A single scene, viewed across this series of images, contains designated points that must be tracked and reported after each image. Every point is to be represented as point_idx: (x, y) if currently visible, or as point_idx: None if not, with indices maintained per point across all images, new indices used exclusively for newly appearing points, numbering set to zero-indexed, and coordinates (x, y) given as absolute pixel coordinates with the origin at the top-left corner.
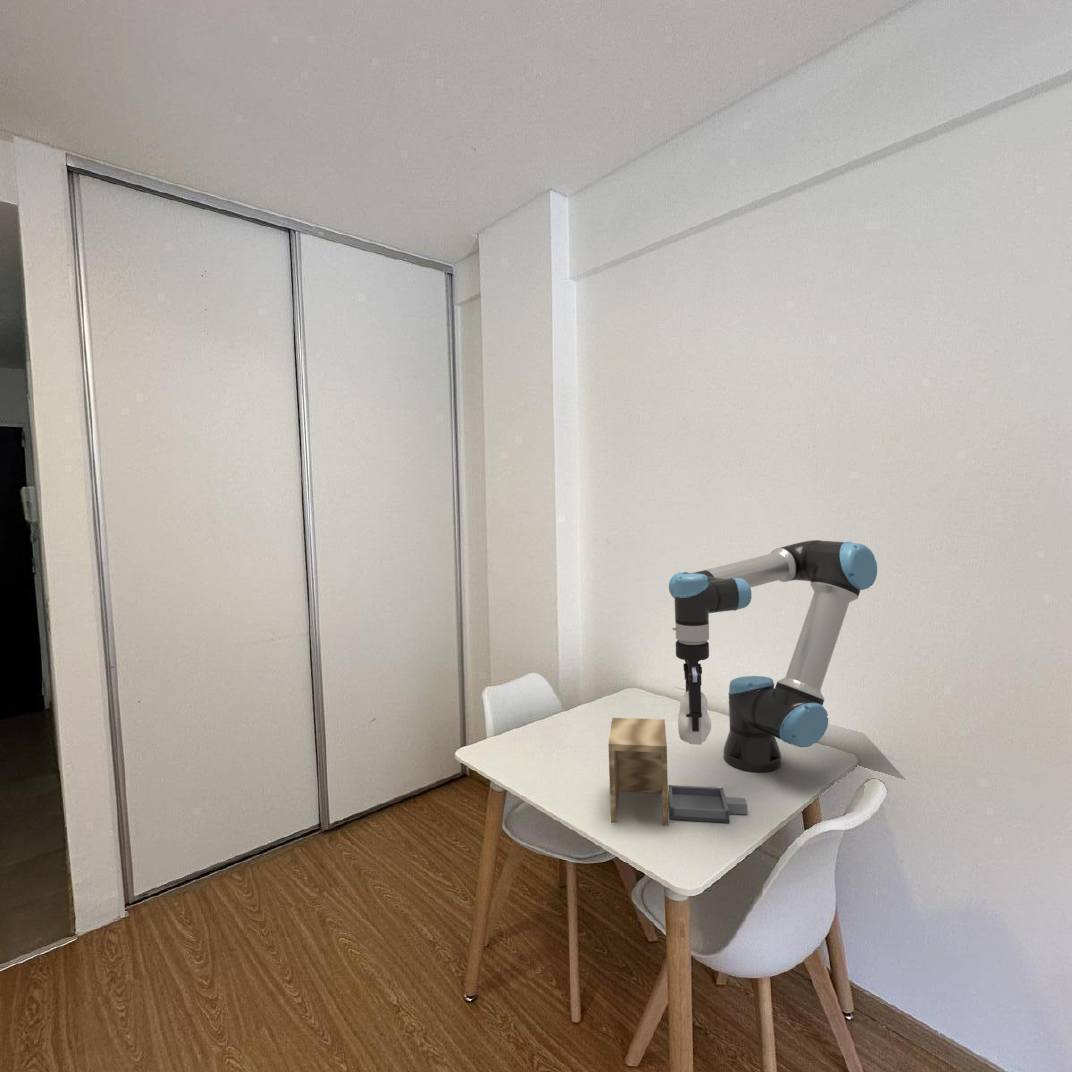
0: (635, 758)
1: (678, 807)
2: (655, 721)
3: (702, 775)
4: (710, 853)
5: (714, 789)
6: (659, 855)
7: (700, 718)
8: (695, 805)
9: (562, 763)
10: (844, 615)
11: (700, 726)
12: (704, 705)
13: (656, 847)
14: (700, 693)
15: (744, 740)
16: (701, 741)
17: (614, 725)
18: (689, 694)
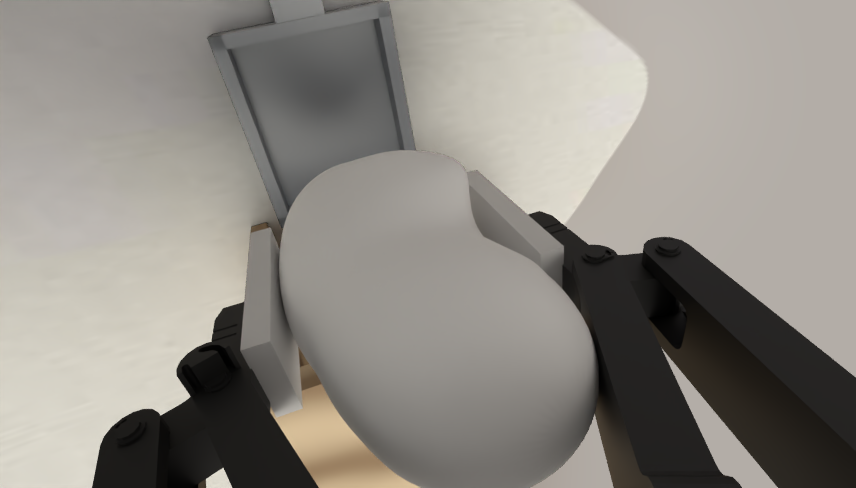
0: (301, 363)
1: None
2: (288, 431)
3: (44, 137)
4: (538, 48)
5: (235, 71)
6: (560, 164)
7: (557, 243)
8: (332, 123)
9: (229, 481)
10: None
11: (525, 217)
12: (544, 275)
13: (533, 177)
14: (852, 382)
15: None
16: (483, 176)
17: None
18: (750, 447)
